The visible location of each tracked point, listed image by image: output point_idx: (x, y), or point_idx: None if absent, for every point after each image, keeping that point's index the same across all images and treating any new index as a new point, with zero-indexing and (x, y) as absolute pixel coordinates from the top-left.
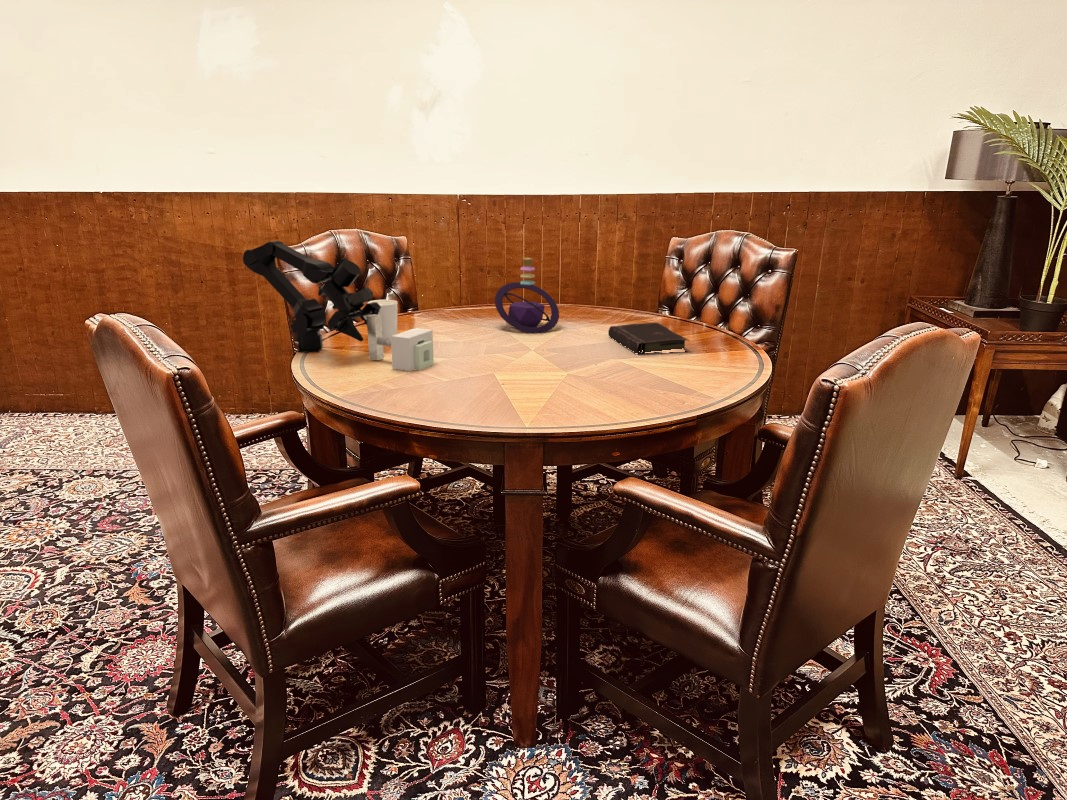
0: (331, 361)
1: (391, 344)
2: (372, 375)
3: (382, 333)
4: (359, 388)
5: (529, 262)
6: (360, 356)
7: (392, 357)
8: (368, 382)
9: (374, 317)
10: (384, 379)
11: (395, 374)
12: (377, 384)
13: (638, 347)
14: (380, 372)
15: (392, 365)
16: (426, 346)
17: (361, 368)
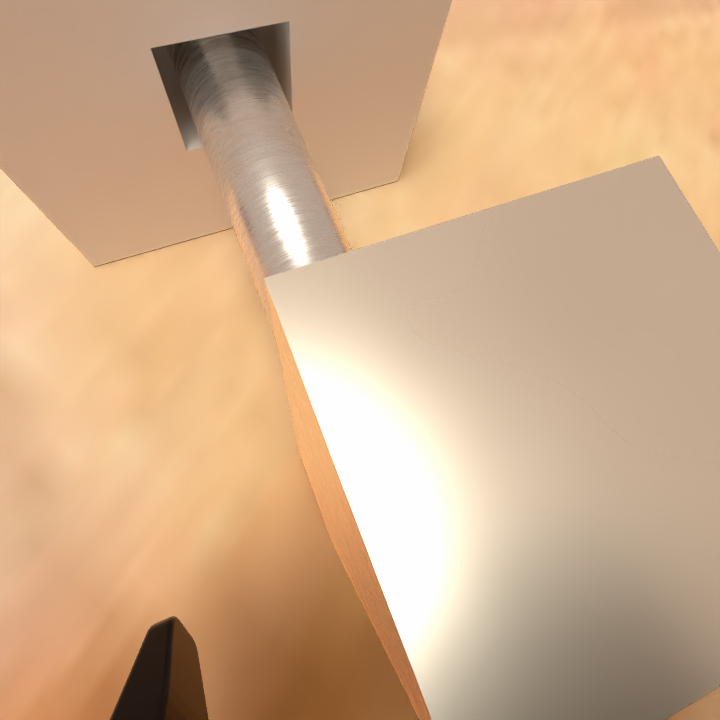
0: (694, 704)
1: (450, 2)
2: (569, 152)
3: (163, 622)
4: (711, 24)
5: None
6: (406, 710)
7: (414, 114)
8: (639, 67)
9: (655, 184)
10: (545, 52)
11: (447, 82)
12: (613, 14)
13: None
14: (500, 171)
15: (402, 164)
16: None
17: None
